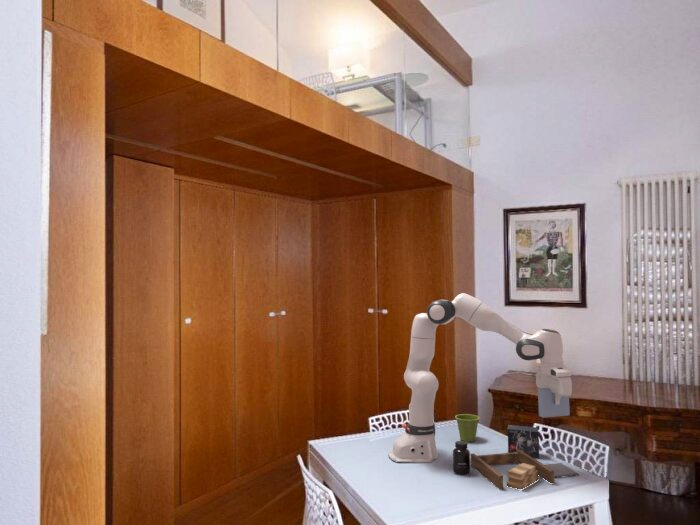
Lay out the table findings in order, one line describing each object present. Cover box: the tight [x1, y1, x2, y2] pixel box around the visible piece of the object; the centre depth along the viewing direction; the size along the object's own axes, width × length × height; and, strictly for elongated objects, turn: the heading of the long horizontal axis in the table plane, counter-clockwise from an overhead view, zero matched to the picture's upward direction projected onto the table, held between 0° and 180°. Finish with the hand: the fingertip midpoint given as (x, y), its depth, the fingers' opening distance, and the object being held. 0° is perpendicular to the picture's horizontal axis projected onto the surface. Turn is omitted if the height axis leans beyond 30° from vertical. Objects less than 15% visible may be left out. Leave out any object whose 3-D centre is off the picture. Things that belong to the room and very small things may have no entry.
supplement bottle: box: [452, 440, 471, 476], centre depth 204 cm, size 7×7×12 cm
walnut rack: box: [470, 450, 555, 490], centre depth 201 cm, size 22×26×5 cm
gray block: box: [537, 388, 571, 419], centre depth 204 cm, size 12×3×11 cm, turn 101°
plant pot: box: [454, 413, 480, 443], centre depth 246 cm, size 12×12×11 cm
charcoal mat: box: [544, 462, 580, 478], centre depth 203 cm, size 12×12×1 cm
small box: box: [507, 424, 540, 460], centre depth 223 cm, size 13×7×12 cm, turn 70°
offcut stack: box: [506, 463, 540, 489], centre depth 191 cm, size 14×6×6 cm, turn 134°
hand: (553, 402), depth 204 cm, fingers closed on gray block, 3 cm apart
